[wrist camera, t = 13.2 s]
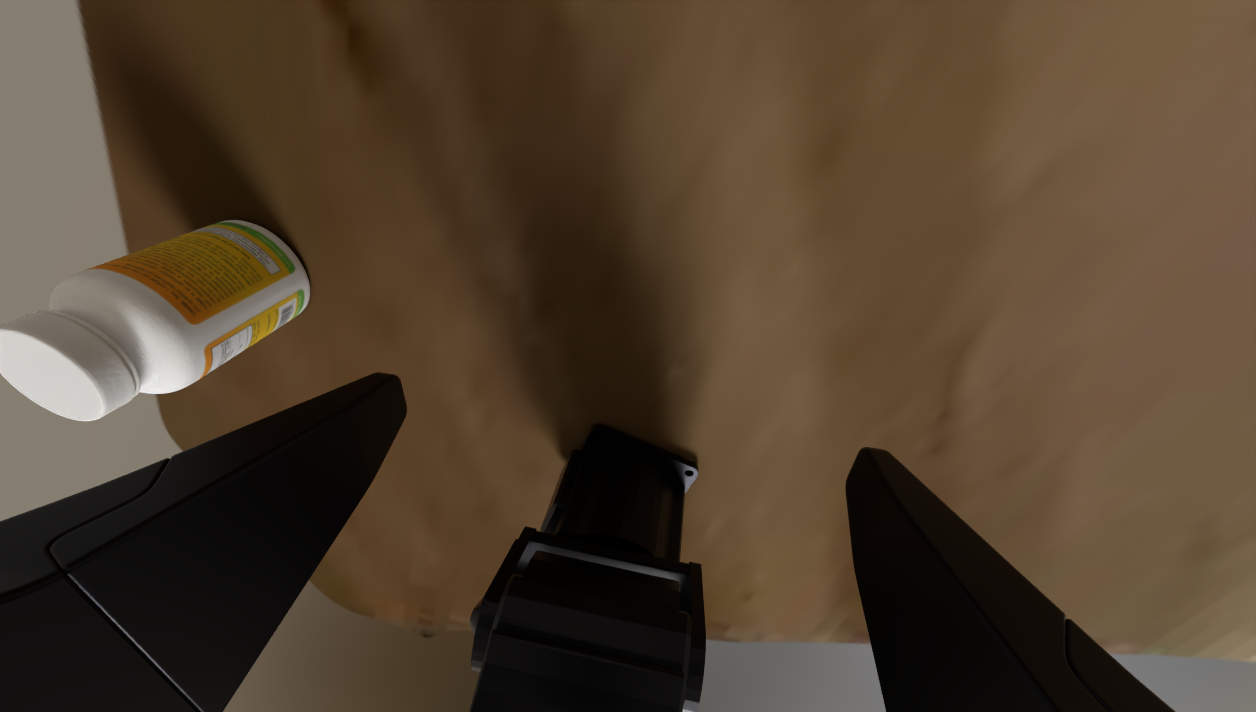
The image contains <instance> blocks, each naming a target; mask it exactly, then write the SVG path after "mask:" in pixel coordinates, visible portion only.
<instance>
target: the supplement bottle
mask: <svg viewBox="0 0 1256 712" xmlns="http://www.w3.org/2000/svg"><path fill="white" fill-rule="evenodd" d="M309 297H310V284H309V280H308V277H307V274H306V271H305V269H304V268H303V266H302V264H301V262H300V261H299V259H298V258H297V256H296V255H295V254H294V253H293V251H292V250H291V249H290V248H289V247H288V246H287V245H286V244H285V243H284V242H283V241H282V240H281V239H280V238H278V237H277V236H276V235H274V234H273V233H271V232H270V231H268V230H267V229H265V228H263V227H261V226H258V225H256V224H253V223H250V222H246V221H241V220H227V221H222V222H218V223H215V224H212V225H209V226H206V227H203V228H200V229H197V230H195V231H192V232H190V233H187V234H184V235H181V236H179V237H176V238H173V239H170V240H168V241H165V242H162V243H159V244H157V245H154V246H151V247H149V248H146V249H143V250H140V251H137V252H135V253H132V254H129V255H126V256H124V257H121V258H118V259H115V260H112V261H110V262H107V263H104V264H101V265H98V266H96V267H93V268H90V269H87V270H85V271H82V272H80V273H77V274H75V275H73V276H71V277H69V278H67V279H65V280H64V281H62V282H61V283H60V284H58V285H57V287H56V288H55V289H54V291H53V293H52V295H51V298H50V303H49V310H42V311H38V312H36V313H31V314H27V315H25V316H23V317H20V318H18V319H16V320H13V321H11V322H8V323H6V324H4V325H1V326H0V373H1V374H2V376H3V377H4V378H5V379H6V380H7V381H8V382H9V383H10V384H11V385H13V386H14V387H15V388H16V389H17V390H18V391H20V392H21V393H22V394H24V395H25V396H26V397H28V398H29V399H31V400H32V401H34V402H35V403H37V404H38V405H40V406H42V407H44V408H45V409H47V410H49V411H52V412H53V413H55V414H58V415H61V416H63V417H66V418H69V419H73V420H78V421H92V420H97V419H99V418H101V417H103V416H105V415H106V414H108V413H110V412H112V411H114V410H115V409H117V408H119V407H120V406H122V405H124V404H127V403H128V402H130V400H131V399H132V398H133V397H135V396H136V395H137V394H138V393H139V392H143V393H150V394H163V393H170V392H174V391H177V390H180V389H183V388H185V387H187V386H189V385H190V384H192V383H194V382H196V381H197V380H199V379H201V378H202V377H203V376H205V375H207V374H208V373H210V372H211V371H213V370H214V369H216V368H217V367H219V366H220V365H222V364H224V363H225V362H227V361H228V360H230V359H231V358H233V357H234V356H236V355H237V354H239V353H241V352H242V351H244V350H245V349H247V348H248V347H250V346H251V345H253V344H255V343H256V342H258V341H259V340H261V339H262V338H264V337H265V336H267V335H268V334H270V333H271V332H273V331H275V330H276V329H278V328H279V327H281V326H282V325H284V324H285V323H287V322H288V321H290V320H291V319H293V318H294V317H296V316H297V315H298V314H300V313H301V312H302V311H303V310H304V309H305V307H306V306H307V304H308V301H309Z"/></svg>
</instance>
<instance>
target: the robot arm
mask: <svg viewBox="0 0 1256 712" xmlns="http://www.w3.org/2000/svg"><path fill="white" fill-rule="evenodd" d="M406 413H407V405H406V401H405V397H404V393H403V388H402V384H401V381H400V379H399V377H398V376H396V375H394V374H387V373H380V372H377V373H373V374H371V375H369V376H366V377H364V378H361V379H359V380H356V381H354V382H351V383H349V384H347V385H344V386H342V387H339V388H337V389H334V390H332V391H330V392H327V393H325V394H322V395H320V396H317V397H315V398H312V399H310V400H308V401H305V402H303V403H300V404H298V405H295V406H293V407H291V408H288V409H286V410H283V411H281V412H278V413H276V414H273V415H271V416H269V417H266V418H264V419H261V420H259V421H256V422H254V423H252V424H249V425H247V426H244V427H242V428H239V429H237V430H234V431H232V432H230V433H227V434H225V435H222V436H220V437H217V438H215V439H212V440H210V441H208V442H205V443H203V444H200V445H198V446H195V447H193V448H191V449H188V450H186V451H183V452H181V453H178V454H176V455H174V456H172V457H171V459H169V458H166V459H164V460H161V461H159V462H157V463H154V464H151V465H149V466H147V467H144V468H142V469H139V470H137V471H134V472H132V473H129V474H127V475H124V476H122V477H119V478H116V479H114V480H111V481H109V482H107V483H104V484H101V485H99V486H96V487H94V488H91V489H88V490H85V491H83V492H80V493H77V494H74V495H72V496H69V497H66V498H64V499H61V500H58V501H56V502H53V503H50V504H47V505H45V506H42V507H39V508H36V509H34V510H31V511H28V512H25V513H22V514H20V515H17V516H14V517H11V518H9V519H6V520H3V521H0V712H223V711H224V709H225V707H226V706H227V704H228V703H229V701H230V700H231V698H232V697H233V695H234V693H235V692H236V691H237V689H238V687H239V686H240V684H241V683H242V681H243V680H244V678H245V677H246V675H247V674H248V672H249V671H250V669H251V667H252V666H253V664H254V663H255V661H256V660H257V658H258V657H259V655H260V654H261V652H262V650H263V649H264V648H265V646H266V645H267V643H268V642H269V640H270V638H271V637H272V635H273V634H274V632H275V631H276V629H277V628H278V626H279V625H280V623H281V622H282V620H283V618H284V617H285V615H286V614H287V612H288V610H289V609H290V608H291V606H292V605H293V603H294V601H295V600H296V599H297V597H298V595H299V594H300V592H301V591H302V589H303V588H304V586H305V585H306V583H307V582H308V580H309V579H310V577H311V576H312V574H313V573H314V571H315V569H316V568H317V566H318V565H319V563H320V562H321V560H322V559H323V557H324V556H325V554H326V553H327V551H328V550H329V548H330V546H331V545H332V543H333V542H334V540H335V539H336V537H337V536H338V534H339V533H340V531H341V530H342V528H343V527H344V525H345V523H346V522H347V520H348V519H349V517H350V516H351V514H352V513H353V511H354V510H355V508H356V507H357V505H358V504H359V502H360V500H361V499H362V497H363V496H364V494H365V493H366V491H367V490H368V488H369V486H370V485H371V483H372V481H373V480H374V478H375V476H376V474H377V472H378V470H379V468H380V467H381V465H382V463H383V461H384V459H385V457H386V455H387V453H388V451H389V449H390V447H391V445H392V443H393V441H394V439H395V437H396V435H397V433H398V431H399V429H400V427H401V425H402V423H403V421H404V419H405V417H406ZM597 432H598V433H601V434H602V435H599V434H597ZM687 470H691V471H687ZM697 476H698V466H697V465H696V464H695V463H693V462H691V461H688V460H686V459H684V458H681V457H679V456H676V455H674V454H671V453H669V452H667V451H664V450H662V449H659V448H657V447H655V446H652V445H650V444H647V443H645V442H642V441H640V440H638V439H635V438H633V437H630V436H628V435H626V434H623V433H621V432H618V431H616V430H613V429H611V428H609V427H606V426H604V425H600V424H596V425H594V426H593V427H592V428H591V430H590V432H589V434H588V436H587V438H586V440H585V442H584V444H583V446H582V448H581V450H578V449H575V450H573V451H572V452H571V454H570V456H569V458H568V460H567V462H566V464H565V467H564V469H563V471H562V473H561V475H560V477H559V480H558V483H557V486H556V488H555V491H554V494H553V496H552V499H551V502H550V505H549V507H548V510H547V513H546V516H545V518H544V521H543V524H542V527H541V532H540V531H536V529H535V528H531V527H526V526H525V528H524V530H523V531H522V533H521V535H520V537H519V539H516V540H515V541H514V543H513V545H512V547H511V549H510V550H509V552H508V554H507V556H506V558H505V559H504V561H503V563H502V565H501V567H500V568H499V570H498V572H497V574H496V576H495V577H494V579H493V581H492V583H491V585H490V586H489V588H488V590H487V592H486V594H485V595H484V597H483V598H482V599H481V601H480V602H479V603H478V604H477V605H476V607H475V608H474V610H473V612H472V614H471V618H470V625H471V627H472V629H473V632H474V634H475V635H474V644H473V650H472V658H471V667H472V670H474V671H478V672H480V674H479V678H478V681H477V685H476V689H475V693H474V697H473V700H472V704H471V708H470V712H697V710H698V705H699V701H700V696H701V690H702V683H703V675H704V665H705V652H706V629H705V614H704V600H703V585H702V571H701V564H698V563H693V562H689V563H684V562H680V551H681V538H682V524H683V511H684V497H685V493H686V491H687V490H688V489H689V487H690V486H691V484H692V483H693V482H694V480H695V479H696V478H697ZM846 499H847V508H848V518H849V527H850V537H851V547H852V556H853V563H854V569H855V574H856V580H857V584H858V589H859V593H860V597H861V602H862V606H863V611H864V615H865V620H866V624H867V628H868V633H869V637H870V642H871V646H872V651H873V655H874V659H875V664H876V668H877V673H878V677H879V682H880V686H881V691H882V695H883V699H884V704H885V708H886V712H1175V711H1174V710H1173V709H1172V708H1170V707H1169V706H1168V705H1167V704H1166V703H1165V702H1163V701H1162V700H1161V699H1160V698H1159V697H1157V696H1156V695H1155V694H1154V693H1153V692H1152V691H1150V690H1149V689H1148V688H1147V687H1146V686H1145V685H1143V684H1142V683H1141V682H1140V681H1139V680H1137V679H1136V678H1135V677H1134V676H1133V675H1132V674H1131V673H1130V672H1128V671H1127V670H1126V669H1125V668H1124V667H1123V666H1122V665H1121V664H1120V663H1118V662H1117V661H1116V660H1115V659H1114V658H1113V657H1112V656H1111V655H1110V654H1108V653H1107V652H1106V651H1105V650H1104V649H1103V648H1102V647H1101V646H1099V645H1098V644H1097V643H1096V642H1095V641H1094V640H1093V639H1092V638H1091V637H1090V636H1088V635H1087V634H1086V633H1085V632H1084V631H1083V630H1082V629H1081V628H1080V627H1079V626H1078V625H1077V624H1075V623H1074V622H1073V621H1072V620H1071V619H1066V615H1065V614H1064V613H1063V612H1062V611H1061V610H1060V609H1059V608H1058V607H1057V606H1056V605H1055V604H1053V603H1052V602H1051V601H1050V600H1049V599H1048V598H1047V597H1046V596H1045V595H1044V594H1043V593H1042V592H1040V591H1039V590H1038V589H1037V588H1036V587H1035V586H1034V585H1033V584H1032V583H1031V582H1030V581H1028V580H1027V579H1026V578H1025V577H1024V576H1023V575H1022V574H1021V573H1020V572H1019V571H1018V570H1017V569H1015V568H1014V567H1013V566H1012V565H1011V564H1010V563H1009V562H1008V561H1007V560H1006V559H1005V558H1003V557H1002V556H1001V555H1000V554H999V553H998V552H997V551H996V550H995V549H994V548H993V547H991V546H990V545H989V544H988V543H987V542H986V541H985V540H984V539H983V538H982V537H981V536H980V535H978V534H977V533H976V532H975V531H974V530H973V529H972V528H971V527H970V526H969V525H968V524H966V523H965V522H964V521H963V520H962V519H961V518H960V517H959V516H958V515H957V514H956V513H955V512H953V511H952V510H951V509H950V508H949V507H948V506H947V505H946V504H945V503H944V502H943V501H941V500H940V499H939V498H938V497H937V496H936V495H935V494H934V493H933V492H932V491H931V490H930V489H928V488H927V487H926V486H925V485H924V484H923V483H922V482H921V481H920V480H919V479H918V478H916V477H915V476H914V475H913V474H912V473H911V472H910V471H909V470H908V469H907V468H906V467H905V466H903V465H902V464H901V463H900V462H899V461H898V460H897V459H896V458H895V457H894V456H893V455H891V454H890V453H889V452H888V451H886V450H883V449H877V448H870V447H864V448H862V449H861V450H860V451H859V453H858V455H857V457H856V459H855V461H854V463H853V466H852V468H851V470H850V472H849V474H848V477H847V480H846Z"/></svg>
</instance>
